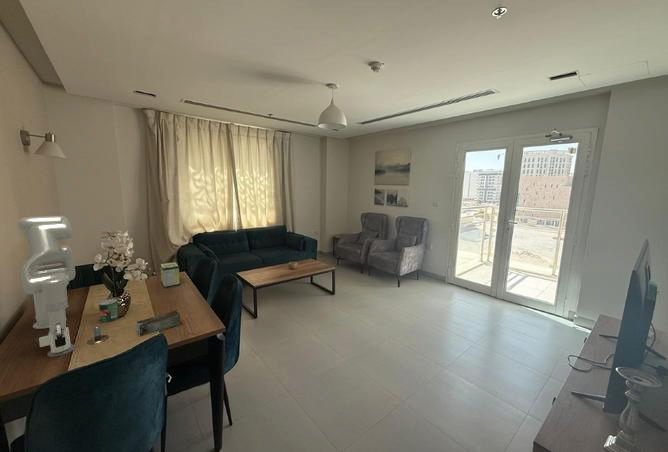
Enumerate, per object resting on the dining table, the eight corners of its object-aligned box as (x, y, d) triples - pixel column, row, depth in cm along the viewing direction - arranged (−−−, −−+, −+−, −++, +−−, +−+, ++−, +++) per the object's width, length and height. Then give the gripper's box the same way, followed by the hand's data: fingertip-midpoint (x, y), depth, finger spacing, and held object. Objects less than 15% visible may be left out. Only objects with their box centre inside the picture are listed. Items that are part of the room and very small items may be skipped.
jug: (69, 349, 121) (66, 330, 120) (39, 357, 116) (36, 337, 115) (71, 343, 126) (69, 325, 125) (43, 350, 121) (40, 332, 120)
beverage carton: (136, 332, 141) (135, 320, 140) (176, 319, 154) (176, 309, 154) (139, 337, 135) (138, 325, 134) (181, 324, 149) (180, 313, 148)
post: (82, 343, 128) (80, 329, 127) (101, 334, 137) (99, 321, 136) (95, 346, 126) (93, 332, 125) (113, 337, 135) (112, 324, 134)
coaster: (42, 355, 119) (42, 353, 119) (66, 344, 128) (66, 342, 128) (56, 359, 117) (56, 357, 117) (80, 347, 126) (80, 346, 126)
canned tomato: (97, 324, 147) (95, 305, 145) (105, 317, 154) (103, 299, 153) (114, 322, 149) (112, 303, 148) (121, 316, 157) (119, 298, 155)
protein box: (176, 280, 218) (175, 261, 216) (180, 285, 207) (179, 266, 205) (161, 282, 212) (159, 263, 210) (164, 288, 200) (163, 268, 198)
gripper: (44, 301, 123) (49, 338, 125) (43, 314, 111) (48, 354, 113) (67, 297, 128) (71, 332, 131) (68, 309, 116) (73, 347, 119)
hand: (60, 342), depth 122 cm, fingers closed on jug, 6 cm apart
